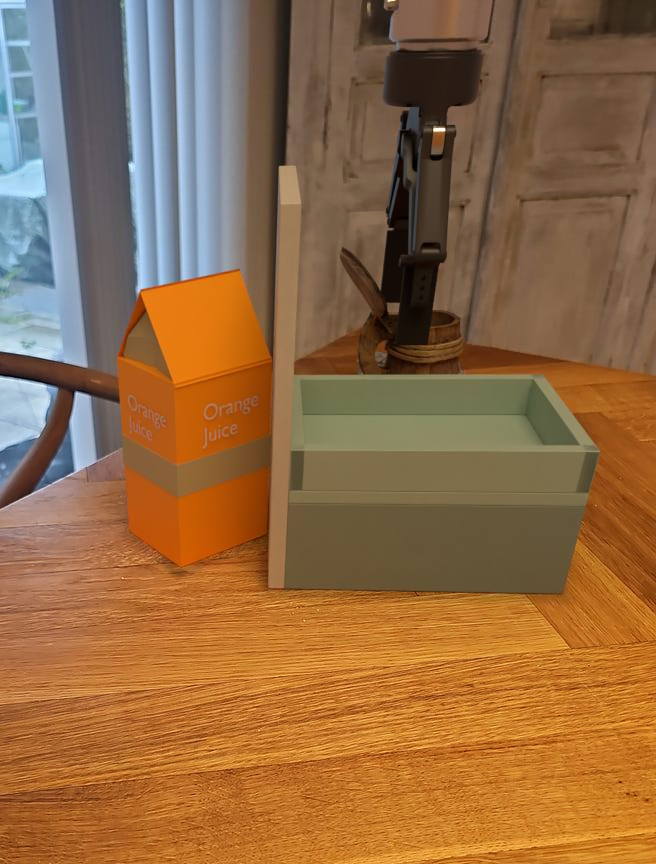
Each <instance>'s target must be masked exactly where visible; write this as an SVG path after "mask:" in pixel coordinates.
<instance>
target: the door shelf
mask: <svg viewBox="0 0 656 864" xmlns="http://www.w3.org/2000/svg"><path fill="white" fill-rule="evenodd" d="M277 178H278V179H277V180H278V182H277V210H276V211H277V215H276V221H277V222H276V243H275V244H276V245H275V247H276V248H275V249H276V250H275V251H276V252H275V254H276V255H275V278H274V281H275V283H274V311H273V312H274V313H273V347H272V380H271V415H270V435H271V441H270V466H269V485H268V527H267V535H268V541H267V544H268V545H267V546H268V547H267V549H268V550H267V551H268V552H267V555H268V556H267V589H278V590H279V589H283V590H284V589H285V590H335V591H337V590H338V591H340V590H342V591H383V592H385V591H386V592H387V591H388V592H391V591H394V592H436V593H437V592H438V593H442V592H445V593H446V592H447V593H488V594H489V593H494V594H496V593H498V594H543V595H544V594H545V595H551V594H553V595H563V594H564V591H565V587H566V584H567V579H568V576H569V572H570V569H571V564H572V562H573V557H574V553H575V549H576V546H577V541H578V538H579V535H580V530H581V527H582V523H583V518H584V515H585V512H586V506H587V503H588V500H589V496H590V493H591V489H592V485H593V481H594V477H595V473H596V471H597V466H598V462H599V460H600V459H599V458H600V455H601V450H600V449H599V448H598V446H597V445H596V444H595V442H594V441H593V439H592V438H591V437H590V435H589V434H588V433H587V432H586V430H585V429H584V428H583V426H582V425H581V423H580V422H579V421H578V420H577V418H576V417H575V416H574V414H573V412H572V411H571V410H570V408H569V407H568V405H566V403H565V402H564V401H563V399H562V398H561V397H560V395H559V393H558V392H557V391H556V390H555V388H554V387H553V386H552V384H551V382H549V380H548V379H547V378H546V377H545V375H544V374H543V373H526V374H525V373H515V374H514V373H512V374H511V373H507V374H506V373H505V374H504V373H503V374H501V373H497V374H496V373H495V374H494V373H493V374H492V373H488V374H487V373H486V374H485V373H484V374H483V373H482V374H481V373H479V374H477V373H476V374H473V373H471V374H468V373H467V374H466V373H465V374H464V373H462V374H450V375H358V374H295V357H296V356H295V355H296V336H297V334H296V333H297V313H298V310H297V309H298V292H299V291H298V289H299V288H298V287H299V269H300V268H299V267H300V247H301V246H300V245H301V224H302V223H301V222H302V197H301V192H300V185H299V178H298V172H297V166H296V165H279V166H278V177H277Z"/></svg>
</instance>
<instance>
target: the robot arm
mask: <svg viewBox="0 0 656 864" xmlns="http://www.w3.org/2000/svg"><path fill="white" fill-rule="evenodd" d="M493 1H494V0H383V8H384V10H385V11H393V13H392V14H391V16H390V23H389V33H388V39H389V40H390V41H391V42H392V43H395V50H390V51H389V52H388V55H386V57H385V65H384V66H385V67H384V79H383V88H382V101H383V103H384V104H386V105H387V106H390V107H396V108H409V109H407V110H406V109H405V110H402V111H401V114H400V115H399V123H400V124H399V130H398V134H397V138H396V151H395V158H394V164H393V169H392V174H391V181H390V187H389V193H388V201H387V205H386V207H385V215H386V218H387V219H386V225H387V230H386V236H385V246H384V256H383V264H382V272H381V273H382V274H381V284H380V291H381V293H382V294H383V296H384V298H385V300H386V303H387V304H398V305H399V306H398V321H397V329H396V337H395V345H428V339H429V332H430V325H431V318H432V311H433V310H434V303H435V298H436V297H435V296H436V291H437V283H438V275H439V269H440V264H445V261H446V259H447V258H448V251H447V245H448V243H447V242H448V228H449V212H450V197H451V183H452V182H451V181H452V166H453V155H454V146H455V139H456V137H457V129H456V125H455V124H448V112H449V109H450V108H451V107H464V106H469V105H472V104H473V103H475V102H476V100H477V99H478V96H479V90H480V84H481V77H482V70H483V65H484V56H485V54H484V53H482V52H483V50H482V49H479V42H480V41H484V40H485V39H487V37H488V35H489V27H490V20H491V14H492V8H493Z"/></svg>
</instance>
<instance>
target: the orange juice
mask: <svg viewBox="0 0 656 864" xmlns="http://www.w3.org/2000/svg"><path fill="white" fill-rule="evenodd" d="M116 367H117V369H116V370H117V381H118V382H117V383H118V395H119V408H120V421H121V422H120V423H121V443H122V445H121V446H122V459H123V465H124V475H125V489H126V490H125V491H126V501H127V502H126V504H127V516H128V517H127V518H128V528H129V529H128V530H129V532H130V533H131V534H132V535H134V536H135V537H137V538H138V539H140V540H141V541H143V542H144V543H145V544H146V545H148V546H150V547H151V548H152V549H153V550H155V551H157V552H158V553H159V554H161V555H162V556H164V557H165V558H166V559H168V560H169V561H171V562H172V563H174V564H175V565H177V566H178V567H179V568H183V567H186V566H189V565H191V564H193V563H197V562H199V561H201V560H204V559H206V558H207V559H208V558H209V557H211V556H215V555H217V554H219V553H222V552H225V551H227V550H230V549H232V548H235V547H237V546H240V545H242V544H243V545H244V544H245V543H248V542H251V541H253V540H255V539H256V540H257V539H258V538H261V537H263V536H266V535H268V521H269V473H270V441H271V407H272V375H273V356H271V353H270V351H269V348H268V345H267V343H266V340H265V337H264V334H263V331H262V328H261V326H260V323H259V320H258V317H257V314H256V311H255V309H254V306H253V303H252V301H251V298H250V295H249V291H248V290H247V286H246V283H245V282H244V278H243V276H242V273H241V268H236V269H232V270H226V271H221V272H217V273H216V272H215V273H212V274H207V275H203V276H198V277H193V278H189V279H184V280H183V279H182V280H179V281H175V282H174V281H173V282H169V283H163V284H160V285H155V286H151V287H145V288H140V289H139V293H138V295H137V298H136V301H135V304H134V307H133V310H132V313H131V315H130V319H129V322H128V324H127V327H126V330H125V333H124V336H123V338H122V342H121V344H120V348H119V350H118V353H117V356H116Z"/></svg>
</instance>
